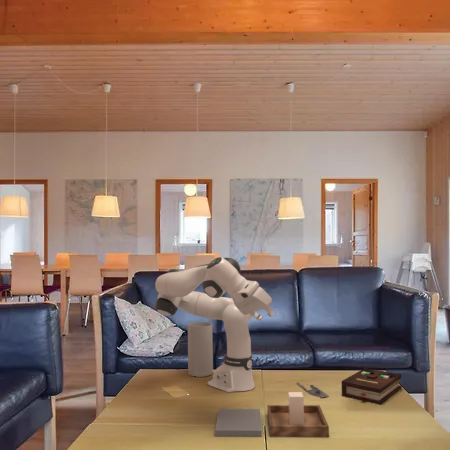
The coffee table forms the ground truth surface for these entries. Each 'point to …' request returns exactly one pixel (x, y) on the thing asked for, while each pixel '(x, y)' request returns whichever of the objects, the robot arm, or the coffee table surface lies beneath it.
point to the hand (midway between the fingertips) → (266, 317)
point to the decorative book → (371, 385)
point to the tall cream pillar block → (296, 408)
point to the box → (312, 425)
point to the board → (238, 422)
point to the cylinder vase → (200, 349)
